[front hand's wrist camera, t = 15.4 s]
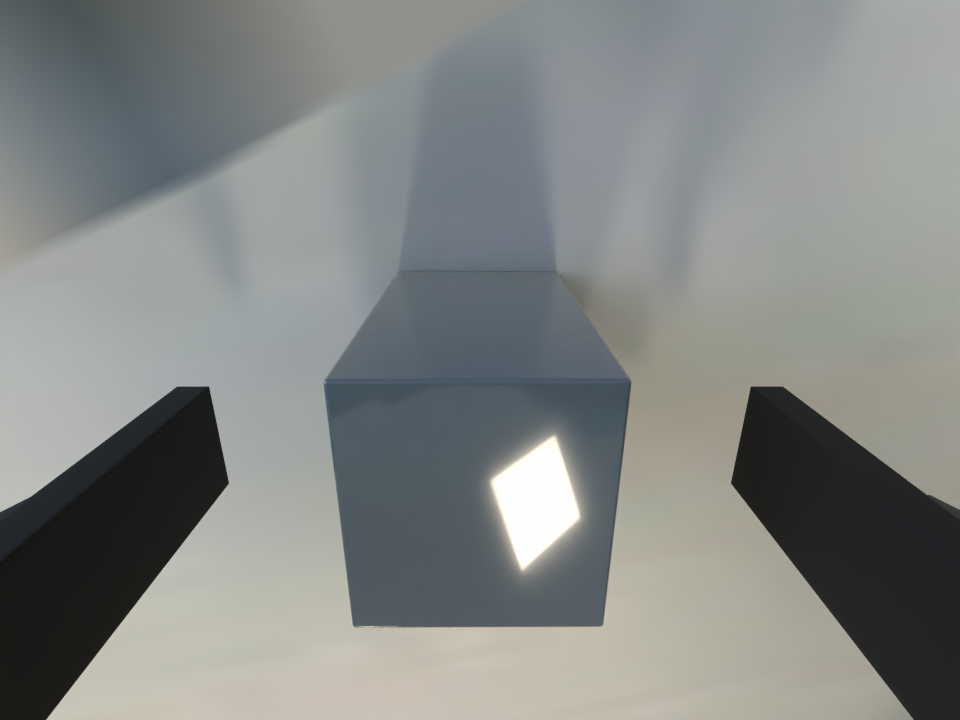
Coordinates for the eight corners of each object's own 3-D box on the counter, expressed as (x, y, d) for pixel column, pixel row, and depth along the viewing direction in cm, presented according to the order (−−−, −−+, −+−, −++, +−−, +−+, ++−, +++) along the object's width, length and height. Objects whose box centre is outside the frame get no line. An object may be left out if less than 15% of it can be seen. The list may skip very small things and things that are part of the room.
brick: (557, 271, 16) (633, 379, 8) (549, 424, 18) (603, 628, 11) (397, 271, 16) (321, 380, 8) (406, 424, 18) (352, 629, 11)
